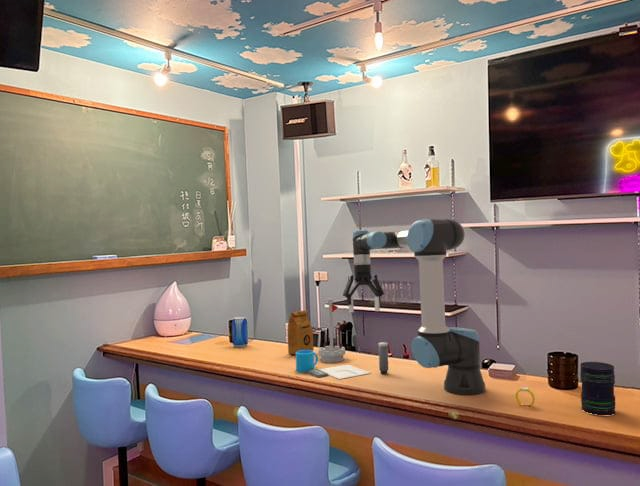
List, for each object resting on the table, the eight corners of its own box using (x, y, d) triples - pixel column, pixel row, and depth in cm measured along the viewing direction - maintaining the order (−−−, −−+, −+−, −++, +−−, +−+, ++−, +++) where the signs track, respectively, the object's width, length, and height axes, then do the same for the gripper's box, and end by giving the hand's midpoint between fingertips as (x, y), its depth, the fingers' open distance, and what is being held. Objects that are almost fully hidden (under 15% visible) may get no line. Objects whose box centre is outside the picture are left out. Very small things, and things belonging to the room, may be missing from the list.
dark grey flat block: (328, 375, 219) (328, 373, 219) (317, 377, 216) (317, 375, 216) (316, 370, 227) (316, 368, 227) (306, 372, 225) (306, 370, 225)
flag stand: (331, 364, 238) (329, 300, 238) (313, 359, 248) (311, 298, 248) (351, 359, 247) (349, 297, 247) (332, 355, 257) (331, 295, 257)
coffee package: (316, 352, 263) (315, 310, 263) (298, 357, 255) (296, 313, 255) (304, 350, 271) (302, 308, 271) (285, 354, 262) (284, 311, 262)
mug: (304, 373, 224) (304, 355, 224) (292, 370, 230) (291, 352, 230) (324, 368, 232) (323, 350, 232) (311, 365, 238) (311, 347, 238)
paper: (370, 373, 220) (370, 372, 220) (338, 379, 212) (338, 378, 212) (347, 365, 235) (347, 364, 235) (317, 370, 228) (317, 369, 228)
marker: (390, 373, 219) (389, 343, 219) (383, 375, 217) (382, 344, 217) (384, 371, 222) (384, 341, 222) (377, 373, 220) (376, 343, 220)
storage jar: (583, 414, 163) (581, 368, 163) (579, 405, 172) (578, 361, 172) (618, 417, 159) (617, 370, 159) (612, 407, 169) (611, 362, 169)
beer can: (246, 347, 281) (245, 318, 281) (231, 348, 281) (230, 319, 281) (249, 344, 290) (248, 316, 290) (234, 344, 290) (233, 316, 290)
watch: (515, 405, 174) (513, 388, 175) (518, 403, 177) (516, 386, 177) (533, 407, 171) (531, 390, 171) (536, 405, 173) (534, 387, 173)
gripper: (380, 265, 240) (383, 310, 238) (334, 265, 229) (336, 312, 226) (389, 263, 233) (392, 310, 231) (342, 263, 222) (344, 313, 220)
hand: (364, 311), depth 229 cm, fingers open, 13 cm apart
